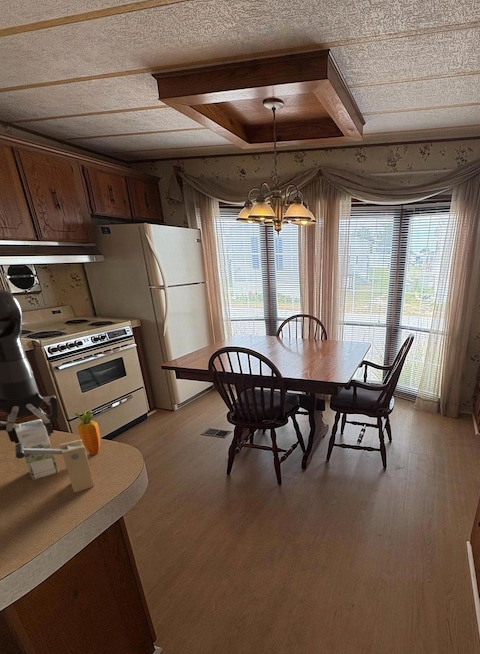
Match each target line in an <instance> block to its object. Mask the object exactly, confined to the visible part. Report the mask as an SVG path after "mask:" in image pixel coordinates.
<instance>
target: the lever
mask: <svg viewBox="0 0 480 654" xmlns="http://www.w3.org/2000/svg"><path fill="white" fill-rule="evenodd" d="M14 447H15V449H14V450H15V457H16V459H23V458H25V457H24V456H25V454H54V455H63V454H62V451H63V450H67V449H71V448H75V447H79V446H67V449H61V448H52V449H41V448H24V445H23V444H20V443H17V444H15V446H14Z"/></svg>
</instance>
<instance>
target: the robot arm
mask: <svg viewBox="0 0 480 654" xmlns="http://www.w3.org/2000/svg"><path fill="white" fill-rule="evenodd" d="M22 322H23V311H22V307H21V304H20V302H19V300H18V299H17V298H16V297H15V295H14V294H12V293H11V292H10V291H8V290H7V289H3V288H0V410H1V411H2V412H4V413H6V414H8V416H7V419H6V423H2V422H1V421H0V432H1V431H6V432H7V435H8V438H9V441H10V442H11V443H14V444H15V445H17V444H20V443H19V440H18V437H17V434H16V430H15V427H14V425H15V423H16V419H19V418H23V417H27V416H29V417H30V416H34V415H35V416H36V417H37V418H38V419H41V420H42V422H43V424H44V426H45V428H46V431H47V434H48V437H51V436H52V434H54V429H53V426H52V421H54V420H57V419H58V418H59V413H58V401H57V400H58V399H57V397H56V395H55V394H51V395H50V396H42V395H41V394H40V392H39V389H38V386H37V382H36V379H35V376H34V372H33V368H32V366H31V364H30V362H29V360H28V357H27V354H26V351H25V347H24V344H23V341H22V333H23V332H22V330H23V329H22V328H23V327H22V326H23V323H22ZM44 402H45V403H46V404H47V406H50V414H47V413H46V412H44V410H42V408H40V407H42V404H43V403H44Z"/></svg>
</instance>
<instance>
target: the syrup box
mask: <svg viewBox="0 0 480 654" xmlns="http://www.w3.org/2000/svg"><path fill="white" fill-rule="evenodd" d="M13 427H14V428H15V430H16V434H17V437H18V440H19V443H18V444H23V445H24V448H41V449H53V448H52V445H51V441H50V438H49V437H50V436H48V434H47V431H46V428H45V426H44V422H43V421H42V420H41V419H40V418H38V419H35V420H31V421H27V422H22V423H21V422H20V423H18V424H14V426H13ZM23 458H24V460H25V463H26V465H27V469H28V471H29V474H30V477H31V480H32V481H36V480H39V479H42V478H45V477H49V476H53V475H55V474H58V473H60V471H59V467H58V464H57V461H56V458H55V454H25V456H24V457H23Z"/></svg>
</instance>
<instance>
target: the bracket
mask: <svg viewBox="0 0 480 654" xmlns="http://www.w3.org/2000/svg"><path fill="white" fill-rule="evenodd" d="M59 446H60V449H67V446H79V447H75V448H71V449H67V450H63V451H62V454H61V455H62V456H63V461H64V464H65V468H66V470H67V474H68V477H69V480H70V484H71V487H72V490H73V493H78V492H81V491H84V490H87V489H90V488H93V487H95V482H94V478H93V473H92V470H91V467H90V462H89V460H88V459H89V458H88V456H87V452H86V448H85V446H84V445H83V443H82V440H81V438H79V439H76V440H72V441H67V442H63V443H59Z"/></svg>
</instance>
